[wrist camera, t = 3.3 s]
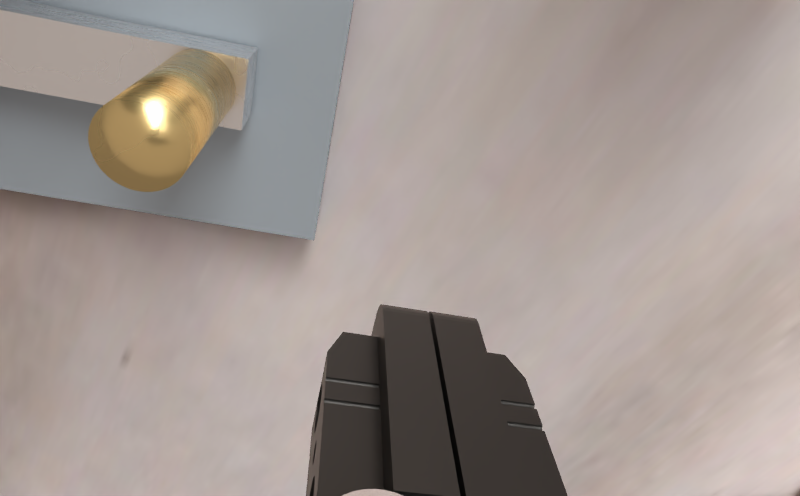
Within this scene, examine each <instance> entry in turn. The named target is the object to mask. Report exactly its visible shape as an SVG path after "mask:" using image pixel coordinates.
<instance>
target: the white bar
mask: <svg viewBox="0 0 800 496" xmlns="http://www.w3.org/2000/svg"><path fill="white" fill-rule="evenodd" d="M257 53H258V48H257V47H252V46H247V45H242V44H237V43H232V42H227V41H222V40H217V39H212V38H207V37H203V36H198V35H193V34H188V33H183V32H178V31H173V30H168V29H163V28H158V27H153V26H148V25H143V24H138V23H133V22H128V21H123V20H119V19H114V18H109V17H104V16H99V15H94V14H89V13H84V12H79V11H74V10H69V9H64V8H59V7H54V6H49V5H44V4H39V3H35V2H30V1H25V0H0V86H3V87H8V88H14V89H19V90H25V91H30V92H35V93H41V94H46V95H52V96H57V97H62V98H68V99H73V100H79V101H84V102H90V103H95V104H100V105H103V106H102V107H101V108H100V109H99V110H98V111H97V112H96V113H95V115H94V117H93V118H92V120H91V123H90V126H89V131H88V142H89V147H90V151H91V154H92V156H93V158H94V160H95V162H96V163H97V165H98V166H99V168H100V169H101V170H102V171H103V172H104V173H105V174H106V175H107V176H108V177H109V178H110V179H112V180H113V181H114V182H116V183H118V184H119V185H121V186H123V187H126V188H128V189H131V190H135V191H141V192H155V191H160V190H164V189H166V188H168V187H170V186H172V185H174V184H175V183H176V182H177V181H179V180H180V178H181V177H182V176H183V175H184V173H185V172H186V171H187V169H188V168H189V166H190V165H191V164H192V162H193V161H194V159H195V158H196V157H197V155H198V154H199V152H200V151H201V150H202V148H203V147H204V145H205V144H206V142H207V141H208V140H209V138H210V137H211V135H212V134H213V133H214V131H215V130H216V128H217V127H218V126H220V127H225V128H231V129H236V130H242V129H243V127H244V125H245V124H246V122H247V120H248V119H249V117H250V115H251V111H252V101H253V91H254V82H255V72H256V62H257Z"/></svg>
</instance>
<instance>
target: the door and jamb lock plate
mask: <svg viewBox="0 0 800 496" xmlns="http://www.w3.org/2000/svg"><path fill="white" fill-rule="evenodd" d="M25 1H30V2H35V3H39V4H44V5H49V6H54V7H59V8H64V9H69V10H74V11H79V12H84V13H89V14H94V15H99V16H104V17H109V18H114V19H119V20H123V21H128V22H133V23H138V24H143V25H148V26H153V27H158V28H163V29H168V30H173V31H178V32H183V33H188V34H193V35H198V36H203V37H207V38H212V39H217V40H222V41H227V42H232V43H237V44H242V45H247V46H252V47H257V48H258V53H257V62H256V72H255V82H254V91H253V101H252V111H251V115H250V117H249V119H248V120H247V122H246V124H245V125H244V127H243V129H242V130H236V129H231V128H225V127H220V126H218V127H217V128H216V130H215V131H214V133H213V134H212V135H211V137H210V138H209V140H208V141H207V142H206V144H205V145H204V147H203V148H202V150H201V151H200V152H199V154H198V155H197V157H196V158H195V159H194V161H193V162H192V164H191V165H190V166H189V168H188V169H187V171H186V172H185V173H184V175H183V176H182V177H181V178H180V180H179V181H177V182H176V183H175V184H174V185H172V186H170V187H168V188H166V189H164V190H160V191H155V192H141V191H135V190H131V189H128V188H126V187H123V186H121V185H119V184H118V183H116V182H114V181H113V180H112V179H110V178H109V177H108V176H107V175H106V174H105V173H104V172H103V171H102V170H101V169H100V168H99V166H98V165H97V163H96V162H95V160H94V158H93V156H92V154H91V151H90V147H89V142H88V131H89V126H90V123H91V120H92V118H93V117H94V115H95V113H96V112H97V111H98V110H99V109H100V108H101V107H102V106H103V105H100V104H95V103H90V102H84V101H79V100H73V99H68V98H62V97H57V96H52V95H46V94H41V93H35V92H30V91H25V90H19V89H14V88H8V87H3V86H0V189H4V190H10V191H16V192H22V193H28V194H34V195H40V196H47V197H53V198H59V199H65V200H71V201H77V202H83V203H89V204H95V205H101V206H108V207H114V208H120V209H126V210H132V211H138V212H144V213H150V214H156V215H162V216H168V217H175V218H181V219H187V220H193V221H199V222H205V223H211V224H217V225H223V226H229V227H236V228H242V229H248V230H254V231H260V232H266V233H272V234H278V235H284V236H290V237H297V238H303V239H309V240H314V238H315V232H316V226H317V220H318V214H319V208H320V202H321V196H322V190H323V184H324V178H325V172H326V166H327V160H328V154H329V147H330V141H331V135H332V129H333V123H334V117H335V111H336V105H337V99H338V93H339V87H340V81H341V75H342V69H343V63H344V57H345V50H346V44H347V38H348V32H349V26H350V20H351V14H352V8H353V2H354V0H25Z"/></svg>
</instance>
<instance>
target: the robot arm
mask: <svg viewBox="0 0 800 496" xmlns="http://www.w3.org/2000/svg"><path fill="white" fill-rule="evenodd" d="M534 405H535V404H534V401H533V398H532V395H531V393H530V390H529V387H528V384H527V381H526V379H525V377H524V376H523V375H522V374H521V373H520V372H519V371H518V369H517V368H516V367H515V366H514V365H513V364H512V363H511V361H510V360H509V359H508V358H507V357H506V356H505V355H501V354H494V353H487V351H486V348H485V344H484V341H483V338H482V334H481V331H480V327H479V324H478V321H477V320H476V319H475V318H468V317H462V316H455V315H449V314H442V313H435V312H429V313H428V312H427V311H421V310H414V309H408V308H401V307H395V306H388V305H380V306H379V308H378V311H377V315H376V319H375V323H374V327H373V331H372V336H367V335H360V334H353V333H346V332H343V333H342V334H341V335H340V337H339V338H338V339H337V340H336V342H335V343H334V344H333V345H332V347H331V348H330V349H329V350H328V352H327V357H326V362H325V367H324V372H323V377H322V382H321V387H320V392H319V397H318V402H317V407H316V412H315V417H314V422H313V427H312V436H311V447H310V460H309V469H308V479H307V480H308V482H307V490H306V496H567V493H566V490H565V487H564V484H563V482H562V479H561V476H560V473H559V471H558V468H557V465H556V462H555V459H554V457H553V454H552V451H551V448H550V445H549V443H548V440H547V437H546V434H545V432H544V431H542V423H541V420H540V418H539V415H538V412H537V409H534Z"/></svg>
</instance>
